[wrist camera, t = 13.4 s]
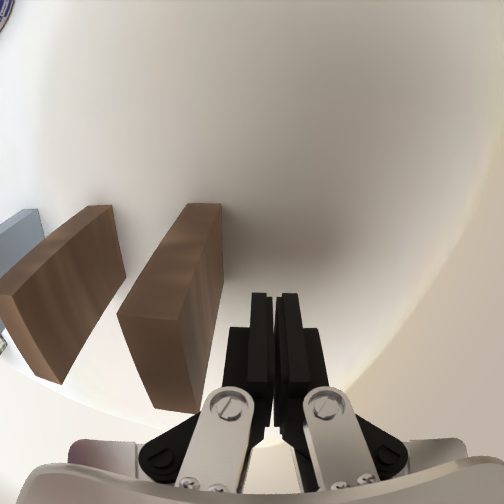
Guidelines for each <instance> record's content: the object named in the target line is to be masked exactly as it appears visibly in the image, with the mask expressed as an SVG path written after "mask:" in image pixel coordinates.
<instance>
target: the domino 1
mask: <svg viewBox="0 0 504 504" xmlns="http://www.w3.org/2000/svg"><path fill="white" fill-rule="evenodd" d="M44 239H45V237H44V234H43V230H42V226H41V222H40V217H39V213H38V209H27V210H21V211H20V212H18V213H17V214H15V215H14V216H12V217H11V218H9V219H8V220H6V221H5V222H3V223H2V224H0V278H1V277H2V276H3V275H4V274H5V273H6V272H7V271H8V270H9V269H10V268H12V267H13V266H14V265H15V264H16V263H17V262H18V261H19V260H20V259H21V258H23V257H24V256H25V255H26V254H27V253H28V252H29V251H31V250H32V249H33V248H34V247H35V246H37V245H38V244H39V243H40V242H41V241H43V240H44ZM5 328H6V327H5V325H4V323H3V322H2V320H1V318H0V334H1V333H2V331H3V330H4V329H5Z"/></svg>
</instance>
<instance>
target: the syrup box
mask: <svg viewBox="0 0 504 504" xmlns="http://www.w3.org/2000/svg"><path fill="white" fill-rule="evenodd" d="M6 346H7V344H6V342H5V341H4V339H3V338H2V337H1V335H0V355H1V353H2V352H3V351H4V349H5V348H6Z"/></svg>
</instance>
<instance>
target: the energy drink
mask: <svg viewBox="0 0 504 504" xmlns="http://www.w3.org/2000/svg"><path fill="white" fill-rule="evenodd" d="M12 5H13V0H0V30H1V29H2V27H3V26H4V24H5V22H6V20H7V18H8V16H9V14H10V11H11V8H12Z"/></svg>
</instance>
